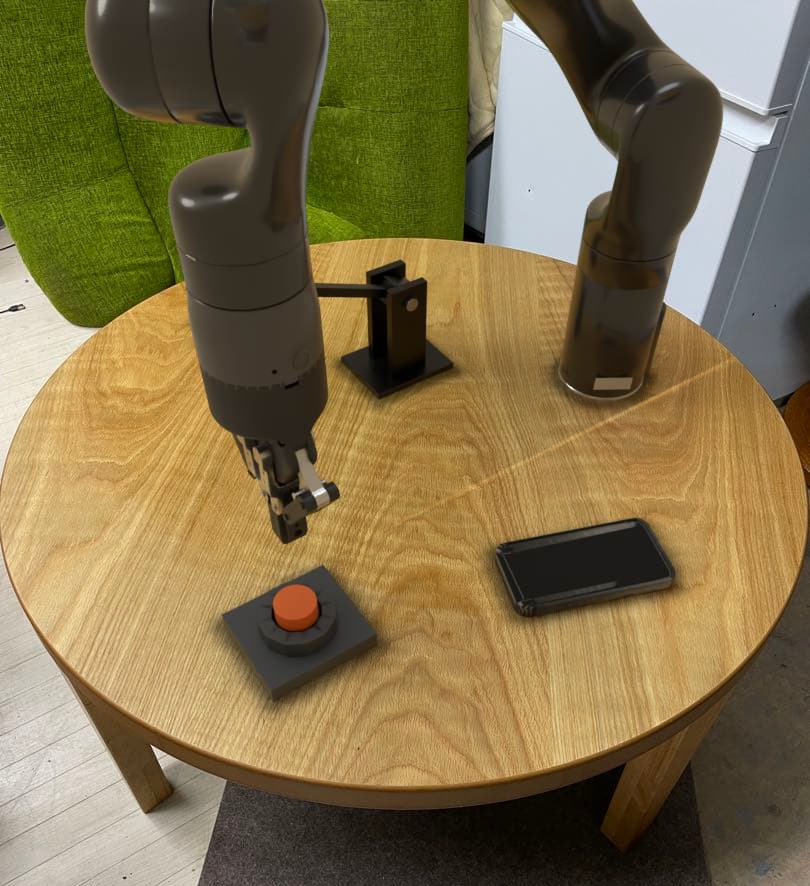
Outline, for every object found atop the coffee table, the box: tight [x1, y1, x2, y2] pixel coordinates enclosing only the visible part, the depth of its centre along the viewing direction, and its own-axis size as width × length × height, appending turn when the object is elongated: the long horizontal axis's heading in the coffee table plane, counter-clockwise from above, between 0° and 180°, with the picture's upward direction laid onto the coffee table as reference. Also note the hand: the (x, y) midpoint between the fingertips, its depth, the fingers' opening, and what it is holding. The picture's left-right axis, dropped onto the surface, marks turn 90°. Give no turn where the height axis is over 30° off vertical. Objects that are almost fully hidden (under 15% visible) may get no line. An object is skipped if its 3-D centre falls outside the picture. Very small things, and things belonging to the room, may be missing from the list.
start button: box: [273, 585, 319, 632], centre depth 71 cm, size 4×4×2 cm
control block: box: [221, 564, 378, 703], centre depth 73 cm, size 10×9×4 cm
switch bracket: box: [340, 259, 454, 400], centre depth 94 cm, size 10×8×12 cm
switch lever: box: [314, 276, 411, 305], centre depth 87 cm, size 14×5×2 cm, turn 124°
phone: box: [494, 517, 677, 618], centre depth 79 cm, size 8×1×15 cm
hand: (291, 533), depth 65 cm, fingers closed
